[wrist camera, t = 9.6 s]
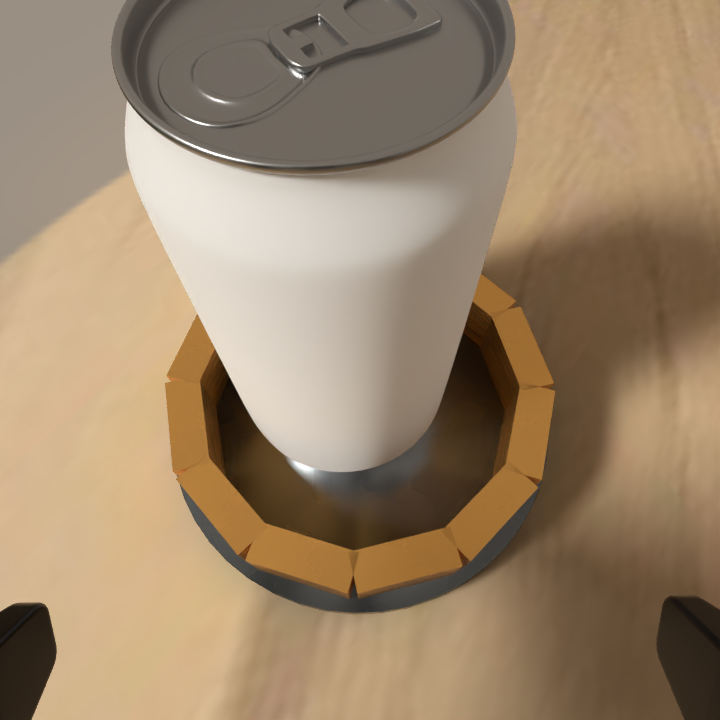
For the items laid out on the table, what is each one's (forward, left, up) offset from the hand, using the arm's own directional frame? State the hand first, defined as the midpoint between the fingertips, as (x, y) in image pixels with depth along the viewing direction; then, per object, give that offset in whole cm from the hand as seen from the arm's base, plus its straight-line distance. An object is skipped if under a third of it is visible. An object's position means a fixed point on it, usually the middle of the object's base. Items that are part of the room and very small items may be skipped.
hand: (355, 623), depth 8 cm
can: (+7, +3, -8) cm, 11 cm away
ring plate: (+6, +2, -9) cm, 11 cm away
